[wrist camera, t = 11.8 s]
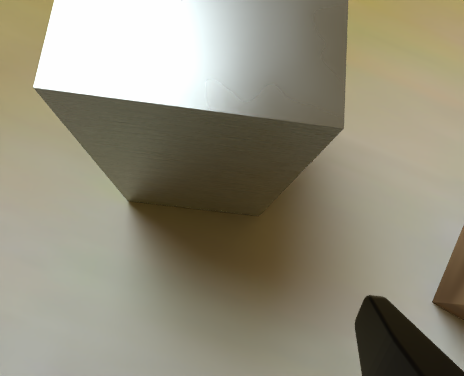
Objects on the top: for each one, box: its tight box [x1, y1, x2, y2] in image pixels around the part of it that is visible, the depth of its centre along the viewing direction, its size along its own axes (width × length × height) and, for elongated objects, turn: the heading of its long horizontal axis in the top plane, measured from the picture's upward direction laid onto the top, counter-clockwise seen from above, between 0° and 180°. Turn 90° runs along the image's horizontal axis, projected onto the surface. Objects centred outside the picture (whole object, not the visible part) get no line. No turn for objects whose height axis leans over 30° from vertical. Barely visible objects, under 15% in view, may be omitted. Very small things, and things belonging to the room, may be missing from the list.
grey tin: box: [33, 0, 348, 216], centre depth 13 cm, size 6×6×10 cm
